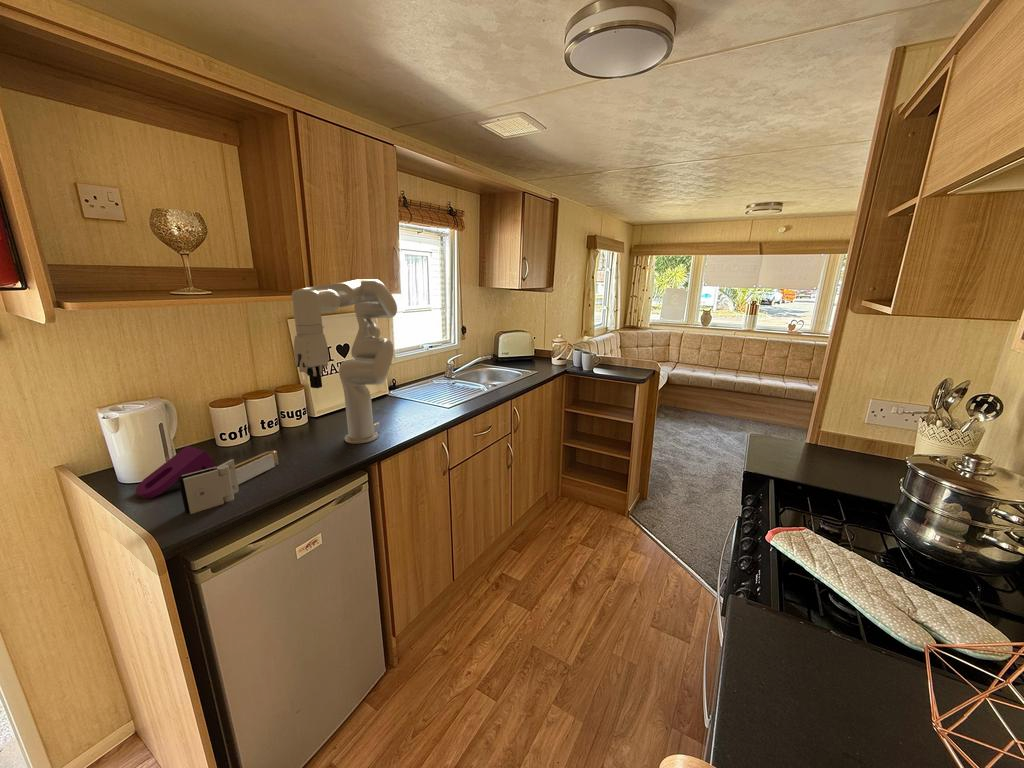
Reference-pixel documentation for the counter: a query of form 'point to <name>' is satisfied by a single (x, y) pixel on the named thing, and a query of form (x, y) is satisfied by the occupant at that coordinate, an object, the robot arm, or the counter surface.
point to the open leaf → (254, 468)
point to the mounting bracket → (174, 471)
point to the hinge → (208, 487)
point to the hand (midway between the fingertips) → (316, 387)
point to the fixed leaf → (258, 458)
